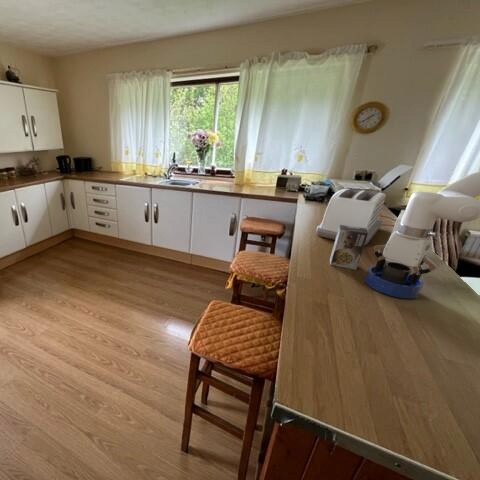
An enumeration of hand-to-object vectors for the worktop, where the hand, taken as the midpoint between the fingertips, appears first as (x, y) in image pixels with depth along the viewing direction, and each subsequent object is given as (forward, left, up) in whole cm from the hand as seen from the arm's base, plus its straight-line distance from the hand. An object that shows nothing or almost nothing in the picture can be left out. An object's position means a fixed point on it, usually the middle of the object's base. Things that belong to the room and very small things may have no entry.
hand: (394, 276), depth 89 cm
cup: (0, 0, -4) cm, 4 cm away
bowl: (0, 0, -5) cm, 5 cm away
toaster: (+42, -45, -5) cm, 62 cm away
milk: (+12, -26, -5) cm, 29 cm away
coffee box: (+18, -2, -5) cm, 19 cm away
